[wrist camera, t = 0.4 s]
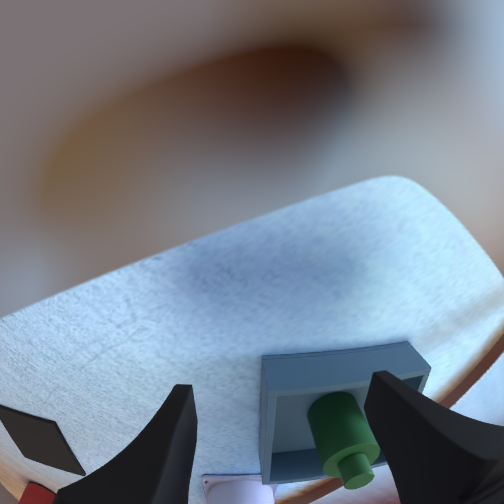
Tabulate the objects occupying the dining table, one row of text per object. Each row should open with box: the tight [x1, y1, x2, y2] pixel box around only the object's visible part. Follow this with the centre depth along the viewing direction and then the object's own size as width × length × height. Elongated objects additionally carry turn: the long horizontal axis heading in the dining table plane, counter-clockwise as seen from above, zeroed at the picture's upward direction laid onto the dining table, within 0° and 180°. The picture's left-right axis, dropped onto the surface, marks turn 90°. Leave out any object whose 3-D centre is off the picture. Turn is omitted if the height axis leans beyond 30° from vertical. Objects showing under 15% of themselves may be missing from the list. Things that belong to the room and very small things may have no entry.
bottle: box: [307, 392, 380, 489], centre depth 19 cm, size 4×4×8 cm
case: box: [259, 342, 431, 485], centre depth 22 cm, size 12×12×4 cm
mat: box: [0, 405, 86, 476], centre depth 24 cm, size 10×10×1 cm
